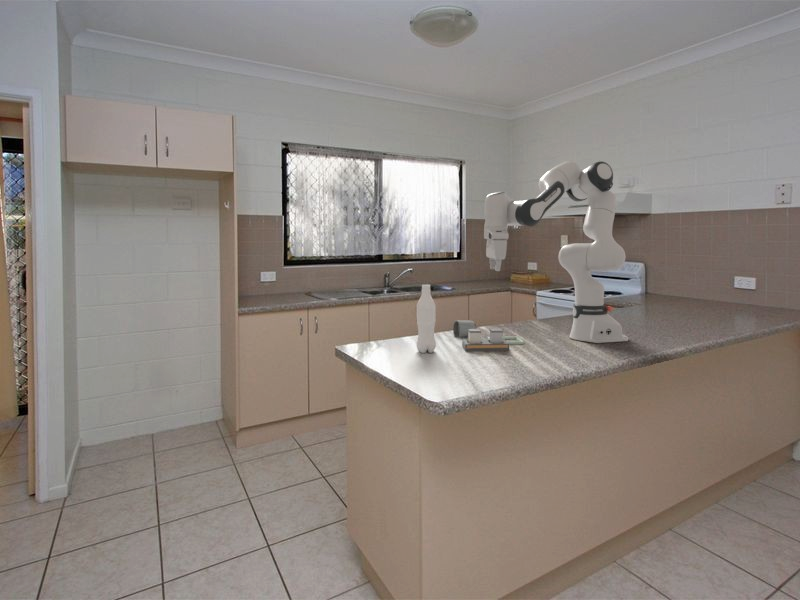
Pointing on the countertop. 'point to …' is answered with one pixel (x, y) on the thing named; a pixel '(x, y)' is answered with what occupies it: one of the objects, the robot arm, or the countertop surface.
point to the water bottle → (426, 321)
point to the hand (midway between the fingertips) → (495, 270)
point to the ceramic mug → (463, 327)
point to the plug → (474, 336)
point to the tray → (513, 338)
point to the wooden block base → (485, 346)
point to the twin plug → (496, 336)
